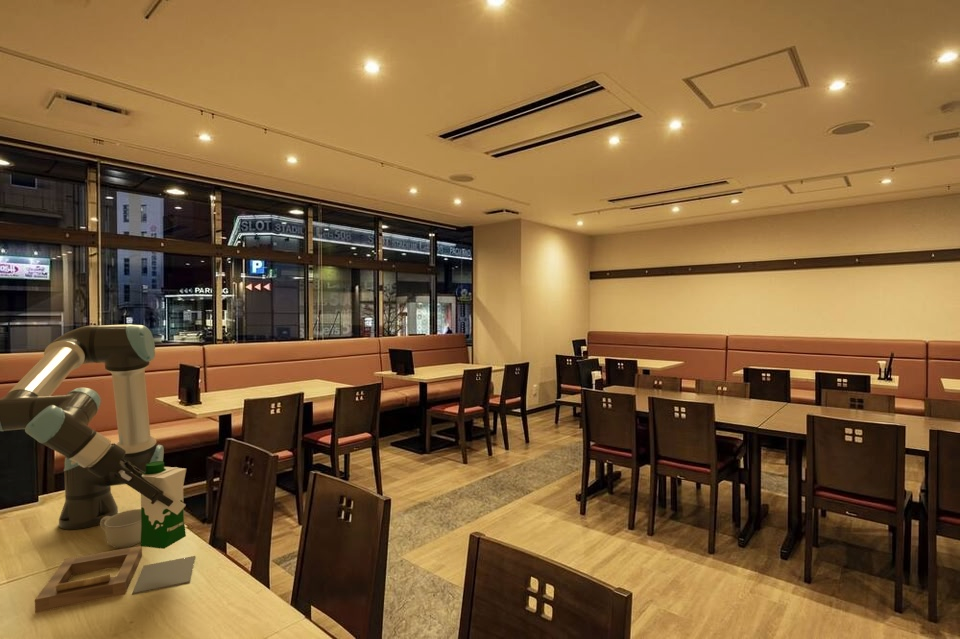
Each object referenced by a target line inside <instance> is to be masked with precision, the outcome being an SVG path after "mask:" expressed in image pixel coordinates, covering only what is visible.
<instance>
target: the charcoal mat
mask: <svg viewBox="0 0 960 639" xmlns="http://www.w3.org/2000/svg"><path fill="white" fill-rule="evenodd" d="M184 558H185V559H184ZM194 560H196V555H192V556H186V557H182V558H177V559H171V560H166V561H161V562H155V563H149V564H145V565H143V566H142V568H141V571H140V572H139V576H138V578H137V580H136V582H135V585H134V587H133V590H132V591H131V592H132V593H131V595H137V594H141V593H147V592H151V591H156V590H160V589H161V590H162V589H166V588H172V587H177V586H179V585H184V584H185V585H186V584H190V583H191V578H192V574H193V570H192V569H194V565H195V561H194ZM193 564H194V565H193Z"/></svg>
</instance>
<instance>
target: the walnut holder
mask: <svg viewBox="0 0 960 639" xmlns="http://www.w3.org/2000/svg"><path fill="white" fill-rule="evenodd" d="M142 557H143V547H142V546H140V545H139V546H138V545H137V546H131V547H127V548H119V549H116V550H109V551H104V552H98V553H93V554H87V555H86V554H85V555H81V556H76V557H69V558H64V560H63V561H62V562H61V564H60V565H59V566H58V568H57V569H56V570H55V572H54V573H53V574H52V575H51V577H50V579H49V580H48V581H47V582H46V584H45V585H44V587H43V588H42V589H41V590H40V592H38V595H37V596H36V597H35V599H34V613H40V612H45V611H51V610H55V609H59V608H64V607H69V606H74V605H80V604H83V603H88V602H93V601H97V600H98V601H99V600H103V599H107V598H113V597H117V596H118V597H119V596H122V595H126V594H127V592H128V590H129V587H130V585H131V582H132V581H133V578H134V575H135V573H136V571H137V569H138V567H139V564H140V562H141V560H142ZM114 568H120V569H119V571H118V573H117V575H115V576H111V574H104V575H99V576H93V577H88V578H83V579H77V580H72V581H70V579H71V578H72V576H76V575H77V576H78V575H83V574H88V573H92V572H98V571H103V570H109V569H114ZM50 609H51V610H50Z"/></svg>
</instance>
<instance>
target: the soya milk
mask: <svg viewBox="0 0 960 639" xmlns="http://www.w3.org/2000/svg"><path fill="white" fill-rule="evenodd" d="M186 473H187V468H184V467H183V468H182V467H177V466H174V467H171V466H165V462H164V460H163V461H156V462H151V463H148V464H146V472H144V473H142V477H143V478H144V479H146V480H147V481H148V482H150V483H151V484H153V485H154V486H155V487H157V488H158V489H160V490H162V491H164V492H166V493H168V494H169V495H171V496H173V497H174V498H176V499H177V500H179V501H181V502H182V503H184V483H185V478H186ZM155 494H156V493H155ZM155 494H154V495H155ZM151 502H152V501H151V500H150V499H148V498H147V497H145V496H144V495H142V494H141V493H140V509H141V542H139V543H140V544H139V546H142V548H143V547H145V548H154V549H164V550H165V549H166V548H168V547H169V546H172V545H173V544H175V543H177V542H178V541H180V540H182V539H183V538H185V537H186V536H187V535H186V525H185V518H184V517H185V515H184V514H185V513H184V508H185V507H184V508H183V509H182V510H181V511H180V513H179V514H178V515H177V514H175V513H173V512H172V511H170V510H168V509H167V508H165V507H163V506H162V505H160V504H159V503H157V502H155V503H154V504H151Z"/></svg>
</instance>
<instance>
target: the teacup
mask: <svg viewBox="0 0 960 639" xmlns="http://www.w3.org/2000/svg"><path fill="white" fill-rule="evenodd" d="M99 526H100V528H101V529H102V530H103V531H104V534H105V540H106V543H107V544H108V545H109V546H111V547H114V548H115V549H125V548H131V547H135V545H139V543H140V542H141V508H138V509H130V510H125V511H121V512H118V514H116V515H113V516H105V517H103V518H102V519H101V521H100V524H99Z"/></svg>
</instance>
